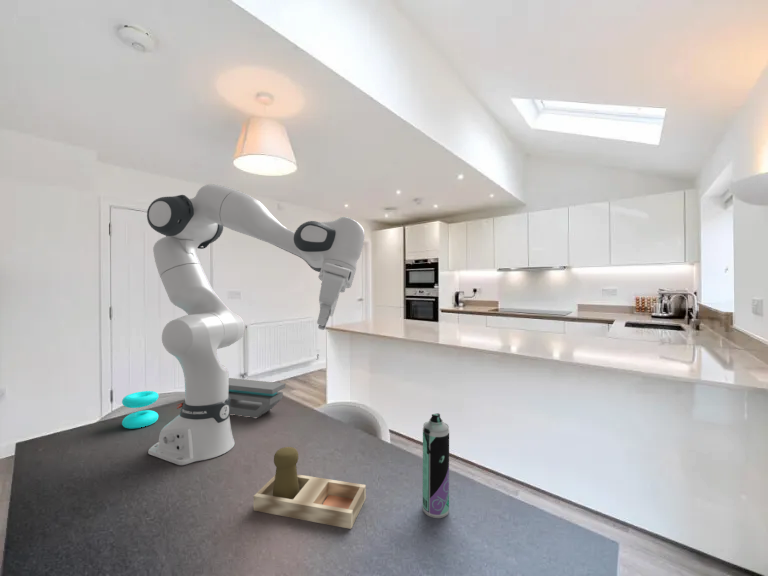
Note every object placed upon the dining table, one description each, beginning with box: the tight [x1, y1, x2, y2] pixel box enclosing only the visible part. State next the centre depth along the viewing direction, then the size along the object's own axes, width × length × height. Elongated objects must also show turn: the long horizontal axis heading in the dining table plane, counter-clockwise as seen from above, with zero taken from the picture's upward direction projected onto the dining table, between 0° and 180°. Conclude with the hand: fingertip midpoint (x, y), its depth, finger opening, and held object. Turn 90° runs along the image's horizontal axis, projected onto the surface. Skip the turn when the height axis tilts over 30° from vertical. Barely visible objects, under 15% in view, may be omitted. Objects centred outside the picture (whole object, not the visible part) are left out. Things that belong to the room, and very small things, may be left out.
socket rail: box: [253, 473, 367, 530], centre depth 71 cm, size 22×10×3 cm, turn 76°
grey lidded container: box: [229, 377, 286, 418], centre depth 123 cm, size 25×8×11 cm, turn 74°
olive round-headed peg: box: [272, 446, 300, 499], centre depth 73 cm, size 6×6×11 cm
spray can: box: [422, 412, 450, 519], centre depth 70 cm, size 6×6×20 cm
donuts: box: [121, 390, 160, 430], centre depth 113 cm, size 10×10×10 cm
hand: (320, 327), depth 83 cm, fingers open, 8 cm apart
